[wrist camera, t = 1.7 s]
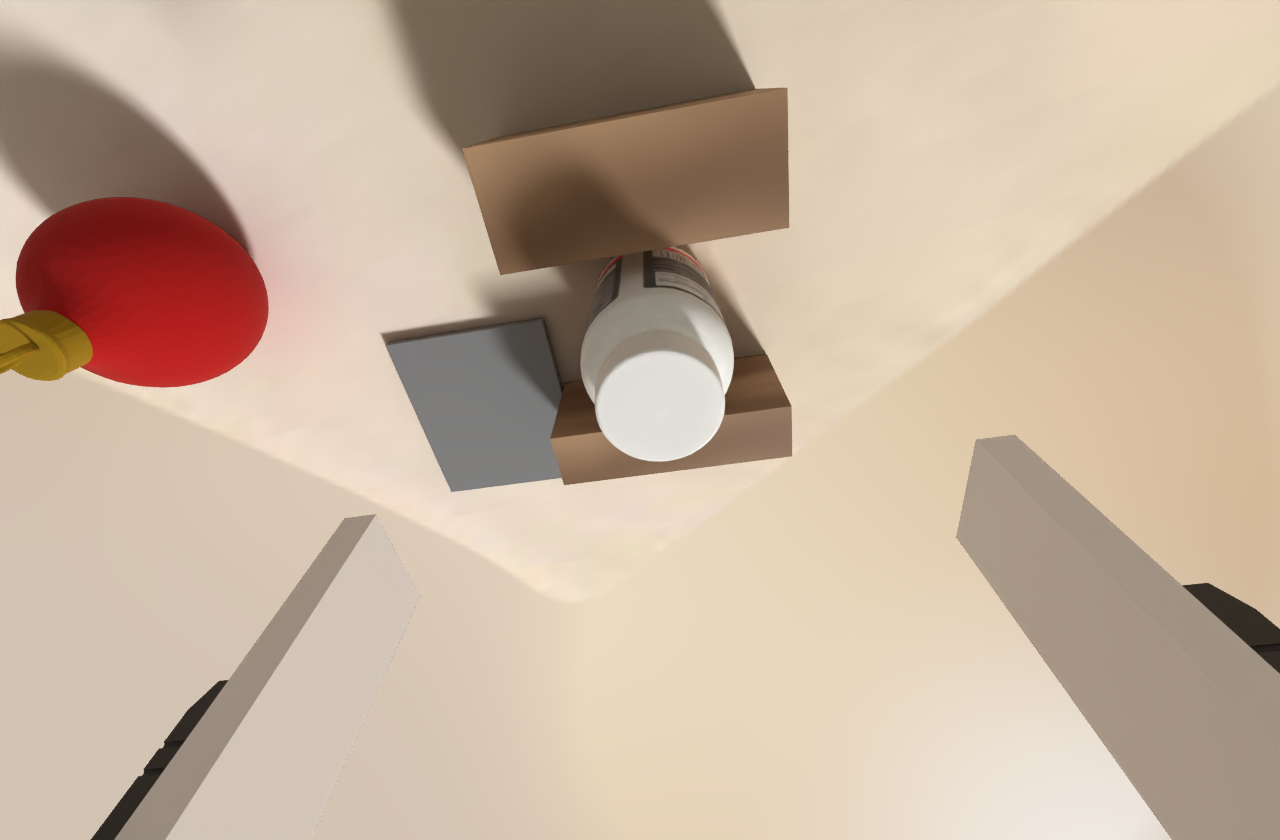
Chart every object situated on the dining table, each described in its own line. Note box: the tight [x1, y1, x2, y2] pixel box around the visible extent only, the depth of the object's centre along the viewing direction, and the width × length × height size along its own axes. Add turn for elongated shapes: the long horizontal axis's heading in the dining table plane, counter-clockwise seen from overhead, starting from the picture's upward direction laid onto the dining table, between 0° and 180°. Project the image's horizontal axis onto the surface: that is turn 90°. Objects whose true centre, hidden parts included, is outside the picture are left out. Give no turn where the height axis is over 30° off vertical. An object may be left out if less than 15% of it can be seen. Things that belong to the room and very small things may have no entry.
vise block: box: [462, 88, 792, 485], centre depth 22 cm, size 14×10×5 cm
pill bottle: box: [580, 247, 734, 461], centre depth 20 cm, size 5×5×10 cm
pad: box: [386, 318, 563, 492], centre depth 27 cm, size 9×8×1 cm
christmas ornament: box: [0, 197, 268, 387], centre depth 19 cm, size 7×7×10 cm
